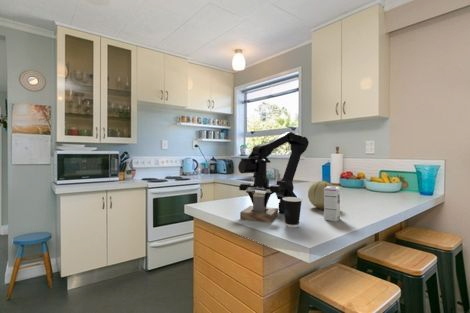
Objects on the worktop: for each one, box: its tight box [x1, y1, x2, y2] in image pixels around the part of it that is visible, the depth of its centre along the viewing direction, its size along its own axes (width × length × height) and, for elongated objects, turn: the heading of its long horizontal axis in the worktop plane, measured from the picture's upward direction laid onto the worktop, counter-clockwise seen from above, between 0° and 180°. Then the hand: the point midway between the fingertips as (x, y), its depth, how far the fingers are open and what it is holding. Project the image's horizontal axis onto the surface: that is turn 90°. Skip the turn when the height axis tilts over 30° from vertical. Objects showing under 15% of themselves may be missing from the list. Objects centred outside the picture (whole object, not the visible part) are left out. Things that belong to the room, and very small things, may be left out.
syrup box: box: [323, 185, 341, 222], centre depth 113 cm, size 6×6×14 cm
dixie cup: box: [283, 197, 303, 228], centre depth 103 cm, size 8×8×11 cm
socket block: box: [239, 205, 279, 223], centre depth 116 cm, size 14×14×3 cm
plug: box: [252, 192, 268, 213], centre depth 116 cm, size 5×5×8 cm
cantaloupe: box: [307, 179, 334, 210], centre depth 134 cm, size 15×15×15 cm
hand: (259, 206), depth 116 cm, fingers closed on plug, 5 cm apart
